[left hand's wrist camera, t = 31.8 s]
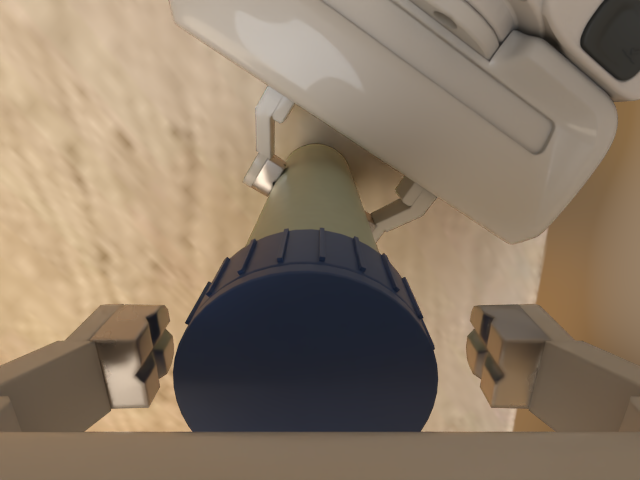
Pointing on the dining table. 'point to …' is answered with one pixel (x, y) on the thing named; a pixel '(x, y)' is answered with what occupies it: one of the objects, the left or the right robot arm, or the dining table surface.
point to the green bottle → (315, 197)
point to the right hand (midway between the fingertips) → (306, 217)
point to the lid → (306, 342)
